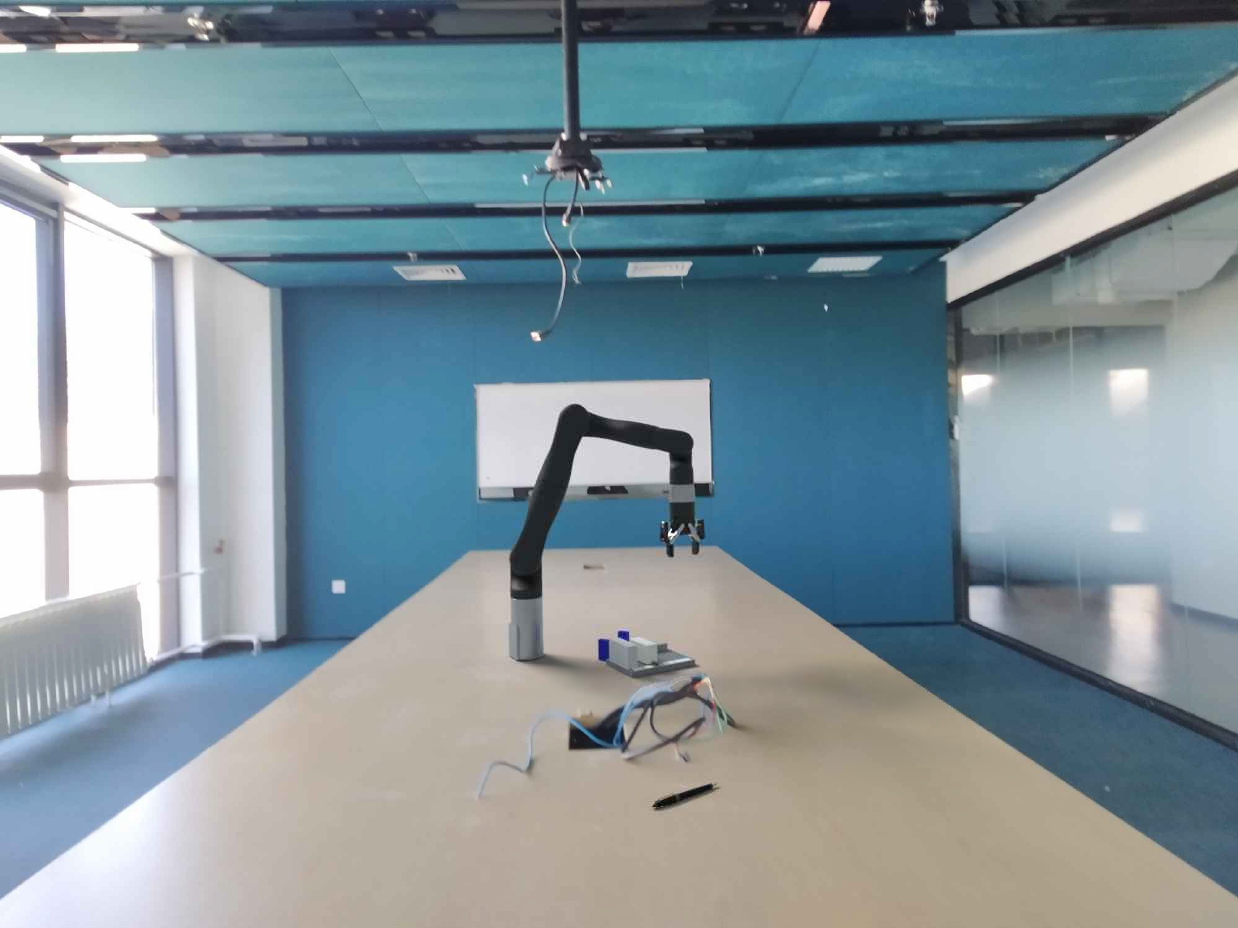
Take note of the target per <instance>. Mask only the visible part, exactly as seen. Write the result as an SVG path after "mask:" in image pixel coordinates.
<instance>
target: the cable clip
mask: <svg viewBox="0 0 1238 928" xmlns="http://www.w3.org/2000/svg"><path fill="white" fill-rule="evenodd" d="M618 637H619V638H621V639H624V640H626V641H628V642H629V639H630V631H627V630H619V631H617V637H616V638H618ZM609 639H610V638H609ZM609 639H608V638H607V639H606V638H602V637H601V638H599V639H597V644H598V645H597V647H598V648H597V649H598V650H597V651H598V658H597V659H598V661H602V662H606V659H609Z"/></svg>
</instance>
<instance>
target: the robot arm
mask: <svg viewBox="0 0 1238 928" xmlns="http://www.w3.org/2000/svg"><path fill="white" fill-rule="evenodd" d="M556 422H557V424H556V427H555V430H554V435H553V439H552V443H551V445H550V448H549V450H548V453H547V454H546V456H545V459H544V460H543V463H542V466H541V468H540V471H539V473H538V476H537V477H536V478H537V479H536V481H535V483H534V486H533V489H532V493H531V496H530V499H529V503H528V506H527V507H528V508H527V512H526V516H525V517H526V518H525V520H524V523H523V527H522V529H521V531H520V533H519V536H518V537H517V541H516V543H515V544H514V545H513V547H512V548H511V549H510V552H509V555H508V556H509V558H508V561H509V569H510V570H509V571H510V572H509V573H510V574H509V575H510V582H509V584H510V587H509V593H510V595H509V596H510V599H509V600H510V622H509V623H508V656H509V657H511V658H512V659H514V660H515V661H523V660H524V661H528V660H535V659H536V660H537V659H540V658H542V657H544V655H545V654H544V649H545V648H544V647H545V646H544V616H543V615H544V610H543V609H544V608H543V602H544V601H543V555H544V554H543V553H544V550H545V545H546V543H547V538H548V535H549V532H550V530H551V528H552V526H553V523H554V522H555V520H556V517H557V516H558V513H559V511H560V509H561V506H562V504H563V502H564V499H565V497H566V493H567V491H568V487H569V484H570V481H571V476H572V473H573V472H572V471H573V465H574V460H575V455H576V453H577V450H578V448H579V445H580V443H581V441H582V440H583V438H596V439H603V440H604V439H605V440H609V441H613V442H618V443H622V444H625V445H629V446H633V447H638V448H643V449H646V450H655V451H656V450H657V451H661V452H664V453H668V459H669V474H668V475H669V477H668V478H669V488H668V514H669V518H670V519H669V521H666V520H665V521H662V520H661V521H660V525H659V541H660V543H664V544H666V545H665V546H666V550H665V551H666V556H667V557H668V558H672V559H673V558H674V557H675V545H674V542H675V540H676V539H677V538H678V537H679V536H688V537H689V538H690V539H691V554H692V555H693V556H694V555H695V556H696V555H697V556H698V555H699V553H700V541H701V540H704V539H705V538H706V533H705V532H706V531H705V521H704V519H703V518H696V519H695V516H696V493H695V481H694V480H695V479H694V477H695V475H694V468H693V448H694V444H695V443H694V439H693V437H692V435H691V434H690V433H688V432H686V431H684V430H678V429H672V428H667V427H666V428H665V427H660V426H657V425H654V424H653V425H652V424H649V423H643V422H638V421H633V420H623V419H622V420H621V419H614V418H610V417H609V418H608V417H605V416H601V415H598V414H595V413H593V412H590V411H588V410H587V408H586V407H584V406H583V405H581V404H578V403H570V404H568V405H565V407H563V408H562V409H561V411H560V412H559V414H558V419H557V421H556ZM694 527H695V528H694ZM670 528H671V529H670ZM669 529H670V530H669ZM695 529H696V530H695Z"/></svg>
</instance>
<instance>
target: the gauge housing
mask: <svg viewBox="0 0 1238 928" xmlns="http://www.w3.org/2000/svg"><path fill="white" fill-rule="evenodd" d="M617 637H618V636H617ZM617 637H611V638H609V659H606V661H605V665H606V666H608V667H610V668H612V669H614V670H616V671H618V672H620V673H622V674H623V675H626V676H628V677H630V678H632V679H633V678H637V677H638V678H639V677H641V676H642V677H643V676H647V675H652V674H657V673H663V672H667V671H672V670H677V669H682V668H688V667H692V666H693V667H694V666H695V665H696V659H695V658H691V657H689V656H687V655H684V654H681V653H679V652H677V651H674V650H672V649H670V648H669V647H668V643H667V642H659V643H656V644H657V663H659V665H655V664H647V665H646V664H644V663H642V662H640V661H638V654H637V645H635V644H633V643H631V642H628V641H626V640H624V639H621V638H619V637H618V638H617Z"/></svg>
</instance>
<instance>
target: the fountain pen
mask: <svg viewBox="0 0 1238 928" xmlns="http://www.w3.org/2000/svg"><path fill="white" fill-rule="evenodd" d="M718 784H719V782H716V783H712V782H710V783H707V784H704V785H702V786H698V787H697V786H696V787H695V788H690V789H688V790H686V791H682V792H680V793H674V792H672V793H669V794H667V795H664V796H662V797H660V798H657V799H656V800H654V801H653V802H654V804H652V806H651V807H652V808H653V807H660V808H662V807H661V806H664V807H666V806H665V805H667V806H671V805H673V804H676V803H679V802H681V801H684V800H686V799H689V798H691V796H692V797H694V796H697V795H699V794H701V792H702V793H704V792H706V790H707V791H709V790H711V789H713V788H714V787H715V786H717V785H718ZM698 793H699V794H698ZM696 794H697V795H696ZM693 795H694V796H693ZM688 797H689V798H688ZM685 798H686V799H685ZM683 799H684V800H683ZM678 801H679V802H678ZM672 803H673V804H672Z"/></svg>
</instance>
